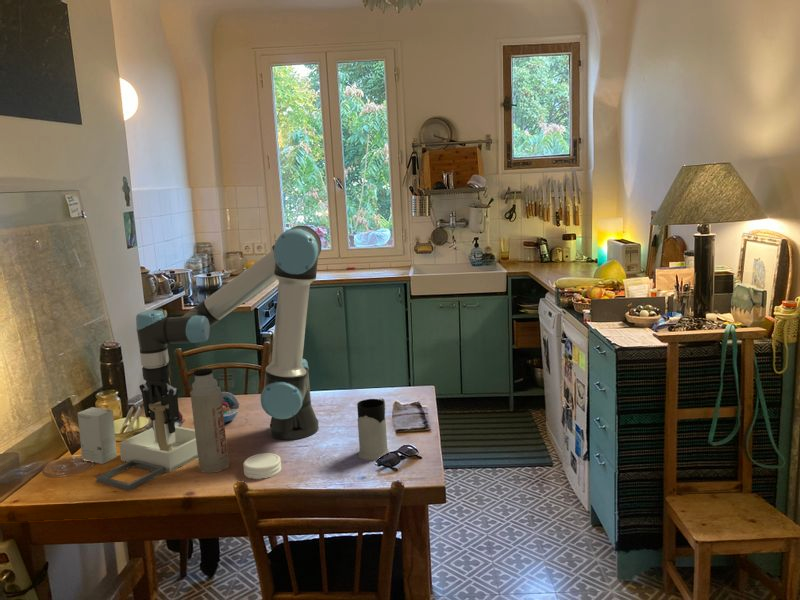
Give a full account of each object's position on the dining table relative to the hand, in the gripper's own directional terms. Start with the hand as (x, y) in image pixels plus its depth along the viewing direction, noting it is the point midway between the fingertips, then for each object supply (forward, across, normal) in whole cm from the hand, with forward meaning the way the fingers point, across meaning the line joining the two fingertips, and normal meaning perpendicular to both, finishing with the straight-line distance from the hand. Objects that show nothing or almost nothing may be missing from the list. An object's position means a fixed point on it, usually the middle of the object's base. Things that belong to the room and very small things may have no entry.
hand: (165, 441), depth 199 cm
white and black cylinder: (+4, -56, -26) cm, 62 cm away
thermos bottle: (+4, -19, 0) cm, 20 cm away
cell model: (+4, +3, -28) cm, 28 cm away
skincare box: (+5, +17, +10) cm, 20 cm away
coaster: (+5, -34, -2) cm, 34 cm away
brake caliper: (+5, +15, -14) cm, 21 cm away
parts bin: (+4, 0, 0) cm, 4 cm away
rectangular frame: (+4, -2, +14) cm, 15 cm away
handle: (+3, 0, 0) cm, 3 cm away
